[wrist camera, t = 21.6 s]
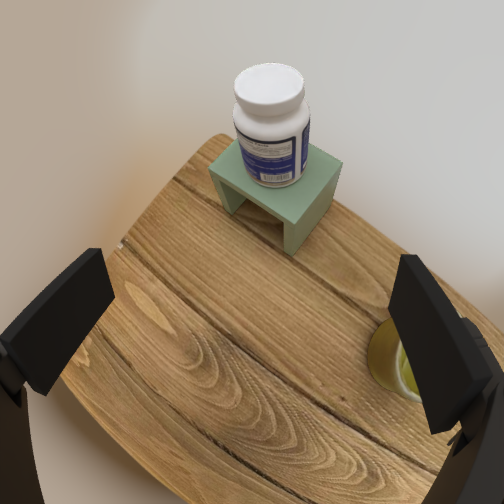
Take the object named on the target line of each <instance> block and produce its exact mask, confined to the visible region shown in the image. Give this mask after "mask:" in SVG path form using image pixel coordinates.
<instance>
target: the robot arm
mask: <svg viewBox="0 0 504 504" xmlns="http://www.w3.org/2000/svg"><path fill="white" fill-rule="evenodd" d="M114 298H115V295H114V292H113V288H112V285H111V282H110V279H109V275H108V272H107V268H106V265H105V261H104V258H103V254H102V250H101V248H89V249H87V250H86V251H85V252H84V253H83V254H82V255H80V256H79V257H78V258H77V259H76V260H75V261H74V262H73V263H72V264H70V266H68V267H67V268H66V269H65V270H64V271H63V272H62V273H61V274H59V276H57V277H56V278H55V279H54V280H53V281H52V282H51V283H50V284H49V285H48V286H47V287H46V288H45V289H44V290H43V291H42V292H41V293H40V294H39V295H38V296H37V297H36V298H35V299H34V300H33V301H32V302H31V303H30V304H29V305H28V306H27V307H26V308H25V309H24V310H23V311H22V312H21V313H20V314H19V315H18V316H17V318H15V320H14V321H13V322H12V323H11V324H10V325H9V326H8V327H7V328H6V329H5V331H4V332H3V333H2V334H1V335H0V504H45V503H44V499H43V496H42V492H41V488H40V484H39V480H38V475H37V470H36V466H35V460H34V455H33V449H32V442H31V435H30V427H29V416H28V403H27V391H26V388H25V387H24V386H23V384H24V383H25V381H27V382H28V384H29V385H30V386H31V388H32V389H33V390H34V391H35V392H37V393H40V394H42V395H44V396H47V394H48V392H49V391H50V389H51V388H52V386H53V385H54V383H55V381H56V380H57V378H58V377H59V375H60V374H61V372H62V371H63V369H64V368H65V366H66V365H67V363H68V362H69V360H70V359H71V357H72V356H73V355H74V353H75V352H76V350H77V349H78V347H79V346H80V345H81V343H82V342H83V340H84V339H85V337H86V336H87V335H88V333H89V332H90V331H91V329H92V328H93V326H94V325H95V324H96V322H97V321H98V320H99V318H100V317H101V316H102V314H103V313H104V312H105V310H106V309H107V308H108V306H109V305H110V304H111V302H112V301H113V300H114ZM388 310H389V312H390V315H391V317H392V319H393V322H394V324H395V327H396V329H397V332H398V334H399V337H400V340H401V342H402V345H403V348H404V350H405V353H406V356H407V358H408V361H409V364H410V367H411V370H412V373H413V376H414V379H415V382H416V385H417V388H418V391H419V394H420V397H421V400H422V404H423V407H424V410H425V414H426V417H427V421H428V424H429V428H430V432H431V435H433V434H437V433H441V432H445V431H449V430H451V429H452V428H453V427H454V426H455V424H456V423H457V422H458V421H459V420H460V423H461V427H462V428H461V429H460V430H459V431H458V432H457V433H456V435H455V436H454V437H453V438H452V439H451V440H450V441H449V442H448V444H447V445H448V446H450V445H451V444H452V443H453V442H454V443H453V445H452V447H451V449H450V452H449V454H448V456H447V458H446V460H445V462H444V464H443V466H442V468H441V470H440V472H439V474H438V476H437V478H436V479H435V481H434V483H433V485H432V487H431V488H430V490H429V492H428V494H427V495H426V497H425V499H424V500H423V502H422V503H421V504H504V372H503V370H502V369H501V367H500V365H499V363H498V361H497V360H496V358H495V356H494V354H493V352H492V351H491V349H490V347H488V344H487V342H486V341H485V339H484V338H483V336H482V334H481V332H480V331H479V329H478V328H477V326H476V325H475V324H474V323H472V322H471V321H470V320H469V319H468V318H467V317H465V318H461V317H460V316H459V314H458V313H457V311H456V309H455V308H454V306H453V305H452V303H451V302H450V300H449V299H448V297H447V296H446V294H445V293H444V291H443V290H442V289H441V287H440V286H439V284H438V283H437V281H436V280H435V279H434V277H433V276H432V274H431V273H430V272H429V270H428V269H427V268H426V266H425V265H424V264H423V262H422V261H421V260H420V258H419V257H418V256H417V255H408V254H401V257H400V262H399V266H398V271H397V275H396V279H395V283H394V287H393V291H392V295H391V299H390V302H389V306H388Z"/></svg>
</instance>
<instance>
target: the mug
mask: <svg viewBox="0 0 504 504" xmlns="http://www.w3.org/2000/svg"><path fill="white" fill-rule="evenodd" d="M456 311H457V310H456ZM457 313H458V314H459V316H460V317H461V318H463V316H462V315H461V314H460V313H459V312H458V311H457ZM367 358H368V366H369V369H370V372H371V374H372V376H373V377H374V379H375V380H376V381H377V382H378V383H379V384H380V385H381V386H382V387H384V388H385V389H388V390H390V391H393V392H396V393H398V394H400V395H401V396H403V397H405V398H406V399H409V400H411V401H414V402H417V403H422V400H421V397H420V394H419V391H418V388H417V385H416V382H415V379H414V376H413V373H412V370H411V367H410V364H409V361H408V358H407V356H406V353H405V350H404V348H403V345H402V342H401V340H400V337H399V334H398V332H397V329H396V327H395V324H394V322H393V319H392V317H391V318H389V319H387V320H386V321H384V322H383V323H382V324H381V325H380V326H379V327H378V329H377V330H376V331H375V333H374V335H373V336H372V339H371V341H370V345H369V348H368V353H367Z"/></svg>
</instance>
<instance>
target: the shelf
mask: <svg viewBox="0 0 504 504" xmlns="http://www.w3.org/2000/svg"><path fill="white" fill-rule="evenodd" d="M342 165H343V162H341V161H340V160H338V159H336V158H334V157H333V156H331V155H329V154H328V153H326V152H324V151H322V150H321V149H319V148H317V147H315V146H314V145H312V144H310V143H308V157H307V166H306V169H305V171H304V173H303V175H302V176H301V177H300V178H299V179H298V180H297V181H296V182H294V183H292V184H290V185H288V186H285V187H279V188H271V187H266V186H263V185H260V184H258V183H257V182H255V181H254V180H253V179H252V178H251V177H250V176H249V175H248V173H247V171H246V169H245V166H244V162H243V158H242V154H241V150H240V145H239V141H238V138H237V139H236V140H235V141H234V142H233V143H232V144H231V145H230V146H229V147H228V148H227V149H226V150H225V151H224V152H223V153H222V154H221V155H220V156H219V157H218V158H217V159H216V160H215V161H214V162H213V163H212V164H211V165H210V166H209V167H208V170H209V172H210V175H211V178H212V180H213V182H214V185H215V187H216V190H217V192H218V194H219V197H220V199H221V201H222V204H223V206H224V209H225V210H226V211H227V212H229V213H230V214H232V215H233V213H234V212H235V211H236V210H237V209H238V208H239V207H240V205H241V204H242V203H243V202H244V201H245V200H246V199H247V198H248V199H249V200H251V201H252V202H254V203H255V204H257V205H258V206H260V207H261V208H263V209H264V210H266V211H267V212H269V213H270V214H272V215H273V216H275V217H276V218H278V219H279V220H281V221H282V222H284V252H286V253H287V254H288V255H290V256H291V257H292V256H293V255H294V254H295V252H296V251H297V250H298V249H299V247H300V246H301V245H302V243H303V242H304V241H305V239H306V238H307V237H308V235H309V234H310V233H311V231H312V230H313V229H314V228H315V226H316V225H317V224H318V222H319V221H320V220H321V218H322V217H323V216H324V214H325V213H326V211H327V210H328V209H329V207H330V206H331V202H332V199H333V196H334V192H335V189H336V185H337V182H338V179H339V175H340V172H341V168H342Z"/></svg>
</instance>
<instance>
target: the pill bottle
mask: <svg viewBox="0 0 504 504" xmlns="http://www.w3.org/2000/svg"><path fill="white" fill-rule="evenodd" d="M234 92H235V96H236V100H237V102H236V104H235V106H234V109H233V120H234V125H235V129H236V133H237V137H238V141H239V145H240V150H241V154H242V158H243V162H244V166H245V169H246V171H247V173H248V175H249V176H250V177H251V178H252V179H253V180H254V181H255V182H257V183H258V184H260V185H263V186H266V187H271V188H279V187H285V186H288V185H290V184H292V183H294V182H296V181H297V180H298V179H299V178H300V177H301V176H302V175H303V173H304V171H305V169H306V166H307V157H308V142H309V129H310V109H309V105H308V103H307V101H306V99H305V98H304V95H305V91H304V79H303V77H302V75H301V74H300V73H299V72H298V71H297V70H295V69H294V68H292V67H290V66H287V65H284V64H278V63H265V64H259V65H256V66H252V67H250V68H248V69H246V70H244V71H243V72H241V73H240V74H239V75H238V76H237V78H236V80H235V82H234Z"/></svg>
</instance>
